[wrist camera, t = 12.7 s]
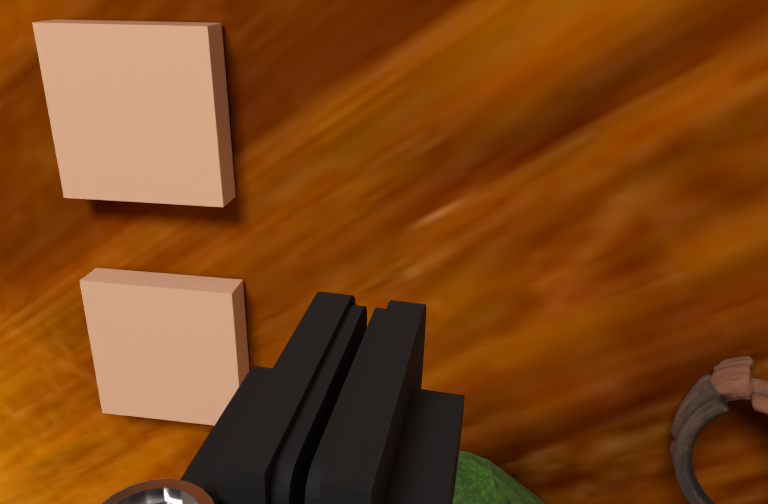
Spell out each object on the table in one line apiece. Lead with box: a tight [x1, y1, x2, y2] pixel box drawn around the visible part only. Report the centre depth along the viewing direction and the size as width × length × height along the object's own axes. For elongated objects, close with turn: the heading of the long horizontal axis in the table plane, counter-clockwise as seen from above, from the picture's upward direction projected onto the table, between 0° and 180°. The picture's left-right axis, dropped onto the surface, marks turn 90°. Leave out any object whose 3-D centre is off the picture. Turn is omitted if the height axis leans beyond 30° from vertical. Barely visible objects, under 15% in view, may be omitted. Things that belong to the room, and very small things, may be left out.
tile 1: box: [33, 19, 236, 207], centre depth 36 cm, size 9×2×9 cm
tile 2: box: [80, 268, 249, 425], centre depth 42 cm, size 9×2×9 cm
